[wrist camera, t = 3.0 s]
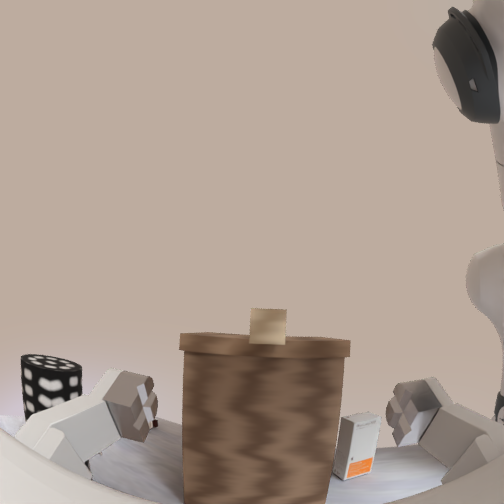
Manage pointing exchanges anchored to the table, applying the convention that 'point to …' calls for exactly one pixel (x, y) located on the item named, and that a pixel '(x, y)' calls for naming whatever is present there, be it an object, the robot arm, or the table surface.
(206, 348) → the stand
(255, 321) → the rod
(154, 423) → the watch
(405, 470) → the table surface
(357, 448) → the skincare box
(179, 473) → the table surface
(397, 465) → the table surface
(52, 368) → the white-spotted black cylinder
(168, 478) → the table surface
